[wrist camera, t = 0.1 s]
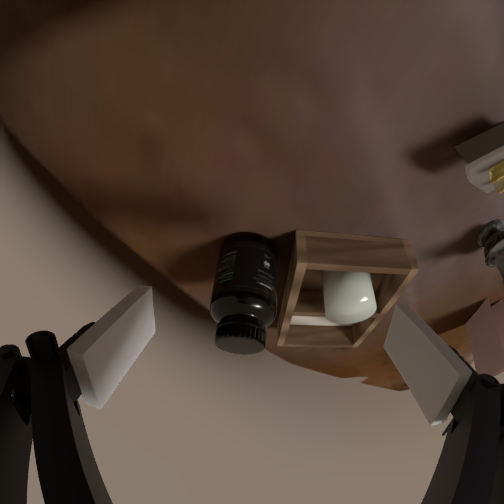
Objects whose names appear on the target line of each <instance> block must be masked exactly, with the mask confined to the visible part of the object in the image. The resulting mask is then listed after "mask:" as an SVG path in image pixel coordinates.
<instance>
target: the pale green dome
mask: <svg viewBox="0 0 504 504" xmlns="http://www.w3.org/2000/svg"><path fill="white" fill-rule="evenodd" d="M322 282H323V293H324V305H325V316H326V318H327V320H329V321H330V322H333V323H336V324H352V323H357V322H360V321H363V320H365V319H367V318H369V317H371V316H372V315H373V314H374V313H375V311H376V308H377V307H376V301H375V296H374V291H373V286H372V281H371V277H370V273H364V272H345V271H327V270H322Z"/></svg>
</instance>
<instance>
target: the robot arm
mask: <svg viewBox="0 0 504 504" xmlns="http://www.w3.org/2000/svg"><path fill="white" fill-rule="evenodd" d="M154 333H155V321H154V310H153V297H152V287H149V286H141V285H139V286H138V287H137V288H135V289H134V290H133V291H132V292H131V293H129V294H128V295H127V296H126V297H125V298H123V299H122V300H121V301H120V302H119V303H118V304H116V305H115V306H114V307H113V308H112V309H111V310H110V311H108V312H107V313H106V314H105V315H104V316H103V317H102V318H101V319H99V320H98V321H97V322H96V323H95V322H92V323H89V324H87V325H85V326H83V327H82V328H81V329H80V330H79V331H78V332H77V333H75V334H74V335H73V336H72V337H71V338H69V339H68V340H67V341H66V342H65V343H64V344H63V345H61V346H60V347H58V344H57V340H56V337H55V335H54V334H53V333H52V332H50V331H38V332H35V333H33V334H31V335H29V336H28V337H27V339H26V341H25V342H26V345H27V348H28V351H29V353H30V357H31V358H30V357H22V355H21V353H20V350H19V348H18V347H17V346H16V345H5V346H4V345H3V346H2V347H0V504H27V480H28V469H29V460H30V452H31V445H32V439H33V442H34V451H35V458H36V464H37V470H38V475H39V481H40V485H41V490H42V494H43V498H44V502H45V504H113V503H112V501H111V499H110V497H109V494H108V492H107V490H106V487H105V485H104V482H103V480H102V477H101V475H100V472H99V470H98V467H97V464H96V461H95V458H94V455H93V452H92V449H91V446H90V443H89V440H88V436H87V433H86V429H85V425H84V422H83V418H82V414H81V409H80V406H79V403H78V400H77V399H78V398H79V397H80V395H81V394H82V396H83V398H84V401H85V403H86V404H87V405H89V406H92V407H95V408H98V409H100V410H101V409H102V408H103V406H104V405H105V403H106V402H107V400H108V399H109V397H110V396H111V394H112V393H113V391H114V390H115V389H116V387H117V386H118V384H119V383H120V381H121V380H122V378H123V377H124V375H125V374H126V373H127V371H128V370H129V368H130V367H131V365H132V364H133V363H134V361H135V360H136V358H137V357H138V356H139V354H140V353H141V351H142V350H143V349H144V347H145V346H146V344H147V343H148V341H149V340H150V339H151V337H152V336H153V334H154ZM384 349H385V350H386V352H387V353H388V355H389V356H390V358H391V360H392V361H393V363H394V364H395V366H396V368H397V369H398V371H399V373H400V374H401V376H402V377H403V379H404V381H405V382H406V384H407V386H408V387H409V389H410V391H411V392H412V394H413V396H414V397H415V399H416V401H417V402H418V404H419V406H420V408H421V410H422V411H423V413H424V415H425V417H426V418H427V420H428V422H429V424H430V425H431V426H432V425H436V424H440V423H443V422H444V421H445V420H446V418H447V417H448V415H449V413H450V412H451V414H452V415H453V419H452V421H451V422H450V424H449V425H448V426H447V428H446V429H445V431H444V432H443V434H442V435H443V436H444V435H445V433H446V432H447V436H446V440H445V443H444V446H443V449H442V453H441V455H440V458H439V461H438V464H437V467H436V470H435V472H434V475H433V478H432V480H431V482H430V485H429V487H428V490H427V492H426V494H425V497H424V499H423V501H422V503H421V504H504V384H499V382H498V380H497V379H496V378H494V377H493V376H491V375H489V374H484V373H483V374H479V375H478V374H477V372H476V371H475V370H474V369H473V368H472V367H471V366H470V365H469V364H468V363H467V362H466V361H464V358H463V357H462V356H460V354H459V353H458V352H457V351H456V350H455V349H454V348H452V347H451V346H449V345H447V344H446V343H445V342H444V341H443V340H442V339H441V338H440V337H439V336H438V335H437V334H436V332H435V331H434V330H433V329H432V328H431V327H430V326H429V325H428V324H427V323H426V322H425V321H424V320H423V319H422V318H420V317H419V316H418V315H417V314H416V313H415V312H414V311H413V310H412V309H411V308H410V307H409V306H408V305H407V304H396V305H395V309H394V312H393V316H392V320H391V323H390V327H389V330H388V334H387V337H386V340H385V343H384ZM11 395H12V397H11Z"/></svg>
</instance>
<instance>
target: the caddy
mask: <svg viewBox="0 0 504 504" xmlns="http://www.w3.org/2000/svg"><path fill="white" fill-rule="evenodd" d="M322 270H327V271H345V272H364V273H370V277H371V281H372V286H373V291H374V296H375V301H376V307H377V308H376V311H375V313H374V314H373V315H372V316H371V317H369V318H367V319H365V320H363V321H360V322H357V323H352V324H336V323H333V322H330V321H329V320H327V318H326V316H325V305H324V293H323V282H322ZM418 270H419V268H418V265H417V262H416V259H415V257H414V254H413V251H412V248H411V246H410V243H409V240H406V239H396V238H386V237H375V236H364V235H353V234H341V233H329V232H316V231H303V230H296V232H295V238H294V243H293V249H292V254H291V259H290V265H289V270H288V275H287V280H286V285H285V290H284V295H283V300H282V304H281V309H280V314H279V318H278V330H277V346H288V347H358V346H359V345H360V343H361V342H362V341H363V340H364V339H365V338H366V337H367V336H368V334H369V333H370V332H371V331H372V330H373V329H374V327H375V326H376V325H377V324H378V323H379V321H380V320H381V319H382V318H383V317H384V315H385V314H386V313H387V312H388V310H389V309H390V308H391V307H392V305H393V304H394V303H395V302H396V300H397V299H398V298H399V296H400V295H401V294H402V292H403V291H404V290H405V288H406V287H407V286H408V284H409V283H410V281H411V280H412V279H413V277H414V276H415V274H416V273H417V272H418Z"/></svg>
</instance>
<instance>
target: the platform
mask: <svg viewBox="0 0 504 504" xmlns="http://www.w3.org/2000/svg"><path fill="white" fill-rule="evenodd" d="M454 148H455V149H456V150H457V151H458V153H459V154H460V155H461V156H462V157H463V158H464V159H465V160H466V162H467V163H468V164H467V166H466V168H465V170H466V175H467V179H468V180H469V181H470V183H472V184H473V185H475V186H477V187H478V188H480V189H482V190H483V191H485V192H486V193H489V192H491V191H493V190H495V189H496V190H497V191H498V190H499V191H500V190H501V191H500V192H499V191H498V192H499V193H501V192H503V191H504V189H503V188H504V187H503V186H504V164H503V163H504V122H503V123H501V124H499V125H497V126H495V127H493V128H491V129H489V130H487V131H485V132H483V133H481V134H479V135H477V136H475V137H473V138H471V139H469V140H467V141H465V142H463V143H461V144H459V145H457V146H455V147H454ZM500 164H501V165H500ZM499 165H500V166H501V167H500V166H499ZM502 166H503V167H502ZM494 172H495V173H494ZM493 176H494V177H493ZM501 186H502V187H503V188H502V187H501ZM500 187H501V188H502V189H501V188H500ZM497 188H498V189H497ZM499 188H500V189H499Z"/></svg>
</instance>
